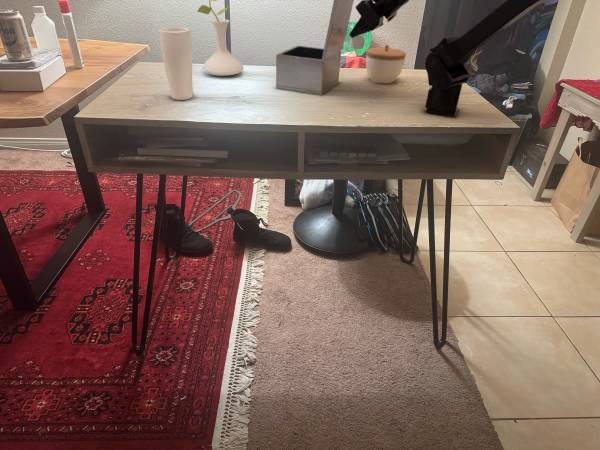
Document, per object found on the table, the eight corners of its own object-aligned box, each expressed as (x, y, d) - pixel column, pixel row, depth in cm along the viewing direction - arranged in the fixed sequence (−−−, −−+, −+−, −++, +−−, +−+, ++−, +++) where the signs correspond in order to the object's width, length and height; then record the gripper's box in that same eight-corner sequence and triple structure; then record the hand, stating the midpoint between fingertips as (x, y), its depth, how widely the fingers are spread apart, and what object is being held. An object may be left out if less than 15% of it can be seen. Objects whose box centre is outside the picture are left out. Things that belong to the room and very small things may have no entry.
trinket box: (402, 87, 116) (408, 50, 111) (362, 84, 117) (366, 47, 112) (400, 77, 125) (406, 42, 120) (363, 74, 126) (367, 40, 121)
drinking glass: (181, 91, 106) (174, 25, 98) (202, 96, 103) (196, 29, 95) (161, 98, 101) (151, 29, 93) (182, 103, 98) (174, 33, 90)
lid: (334, -5, 95) (337, -4, 95) (352, -9, 105) (355, -8, 105) (321, 58, 103) (325, 59, 103) (339, 48, 113) (342, 49, 113)
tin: (276, 88, 111) (276, 54, 107) (296, 76, 122) (297, 45, 117) (321, 95, 108) (323, 60, 103) (338, 82, 118) (341, 50, 114)
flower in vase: (251, 72, 124) (248, -28, 110) (228, 81, 115) (221, -26, 102) (215, 66, 129) (207, -31, 115) (190, 74, 120) (179, -29, 107)
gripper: (391, -45, 101) (342, 4, 110) (370, -44, 86) (316, 12, 96) (418, -4, 103) (368, 40, 112) (402, 3, 88) (346, 53, 98)
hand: (350, 36), depth 104 cm, fingers closed
